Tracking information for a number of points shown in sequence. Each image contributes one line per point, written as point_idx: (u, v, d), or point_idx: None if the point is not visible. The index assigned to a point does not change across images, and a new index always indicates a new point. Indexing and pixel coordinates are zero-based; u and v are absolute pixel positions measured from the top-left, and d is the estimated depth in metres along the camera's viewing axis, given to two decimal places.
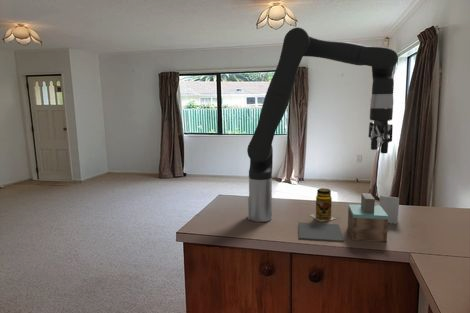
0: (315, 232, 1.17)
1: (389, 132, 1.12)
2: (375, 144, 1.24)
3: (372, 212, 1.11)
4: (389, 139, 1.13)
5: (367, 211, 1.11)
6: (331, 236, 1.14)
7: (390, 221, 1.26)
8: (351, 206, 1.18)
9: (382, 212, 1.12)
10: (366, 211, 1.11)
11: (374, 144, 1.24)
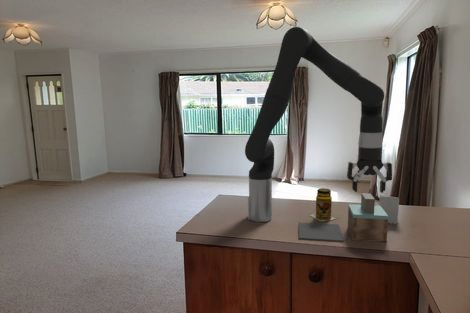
0: (315, 232, 1.17)
1: None
2: None
3: (372, 212, 1.11)
4: None
5: (367, 211, 1.11)
6: (331, 236, 1.14)
7: (390, 221, 1.26)
8: (351, 206, 1.18)
9: (382, 212, 1.12)
10: (366, 211, 1.11)
11: (356, 185, 1.14)
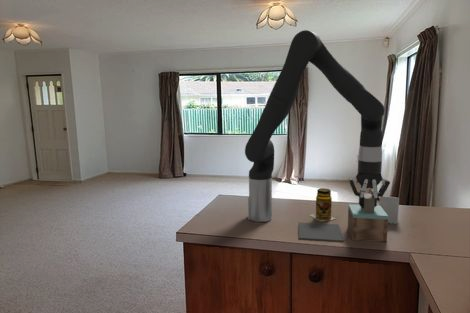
0: (315, 232, 1.17)
1: None
2: None
3: (372, 212, 1.11)
4: None
5: (367, 211, 1.11)
6: (331, 236, 1.14)
7: (390, 221, 1.26)
8: (351, 206, 1.18)
9: (382, 212, 1.12)
10: (366, 211, 1.11)
11: None
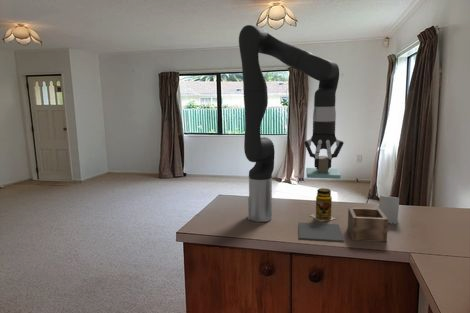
0: (315, 232, 1.17)
1: None
2: (318, 163, 1.15)
3: (326, 172, 1.11)
4: None
5: (321, 171, 1.12)
6: (331, 236, 1.14)
7: (390, 221, 1.26)
8: (308, 169, 1.19)
9: (336, 172, 1.13)
10: (320, 171, 1.12)
11: (318, 163, 1.15)
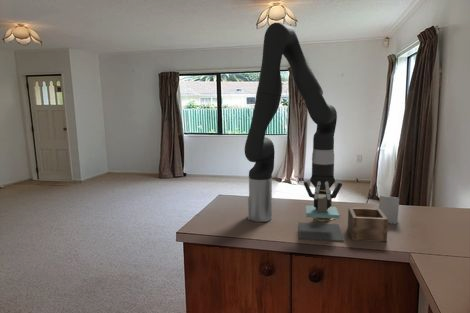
0: (315, 232, 1.17)
1: None
2: None
3: (325, 212, 1.14)
4: None
5: (320, 211, 1.14)
6: (331, 236, 1.14)
7: (390, 221, 1.26)
8: (307, 207, 1.22)
9: (335, 212, 1.15)
10: (319, 211, 1.14)
11: (317, 203, 1.17)
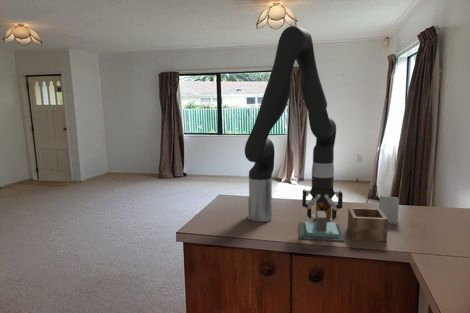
0: None
1: None
2: None
3: (324, 230, 1.15)
4: None
5: (320, 229, 1.16)
6: None
7: (390, 221, 1.26)
8: (307, 223, 1.23)
9: (334, 229, 1.16)
10: (319, 229, 1.16)
11: None
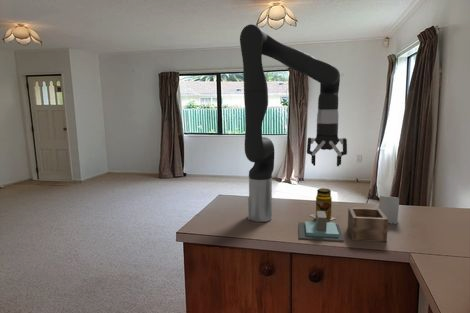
0: None
1: None
2: None
3: (324, 230, 1.15)
4: None
5: (320, 229, 1.16)
6: None
7: (390, 221, 1.26)
8: (307, 223, 1.23)
9: (334, 229, 1.16)
10: (319, 229, 1.16)
11: None
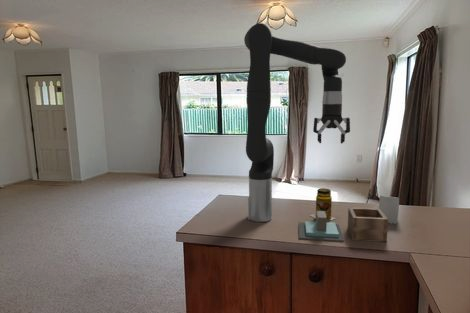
0: None
1: None
2: None
3: (324, 230, 1.15)
4: None
5: (320, 229, 1.16)
6: None
7: (390, 221, 1.26)
8: (307, 223, 1.23)
9: (334, 229, 1.16)
10: (319, 229, 1.16)
11: None
